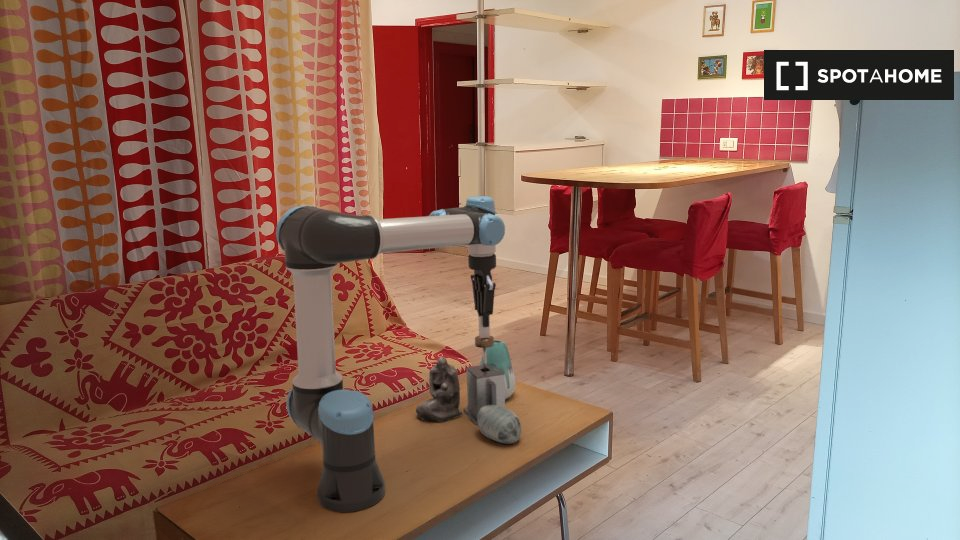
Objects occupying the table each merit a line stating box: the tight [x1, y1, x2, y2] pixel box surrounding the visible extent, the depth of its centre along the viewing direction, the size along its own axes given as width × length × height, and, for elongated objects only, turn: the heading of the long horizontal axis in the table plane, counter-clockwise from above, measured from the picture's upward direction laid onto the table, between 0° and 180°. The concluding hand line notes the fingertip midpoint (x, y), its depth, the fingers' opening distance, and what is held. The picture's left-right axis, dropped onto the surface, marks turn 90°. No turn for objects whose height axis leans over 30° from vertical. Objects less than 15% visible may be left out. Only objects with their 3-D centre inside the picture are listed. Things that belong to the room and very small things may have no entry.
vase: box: [479, 339, 516, 400], centre depth 217 cm, size 12×12×18 cm
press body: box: [463, 363, 506, 426], centre depth 203 cm, size 10×12×14 cm
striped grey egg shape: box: [477, 405, 522, 445], centre depth 191 cm, size 14×10×10 cm
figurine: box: [415, 356, 463, 423], centre depth 205 cm, size 13×12×18 cm
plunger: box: [474, 335, 495, 372], centre depth 202 cm, size 6×6×13 cm
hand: (484, 337), depth 201 cm, fingers closed
